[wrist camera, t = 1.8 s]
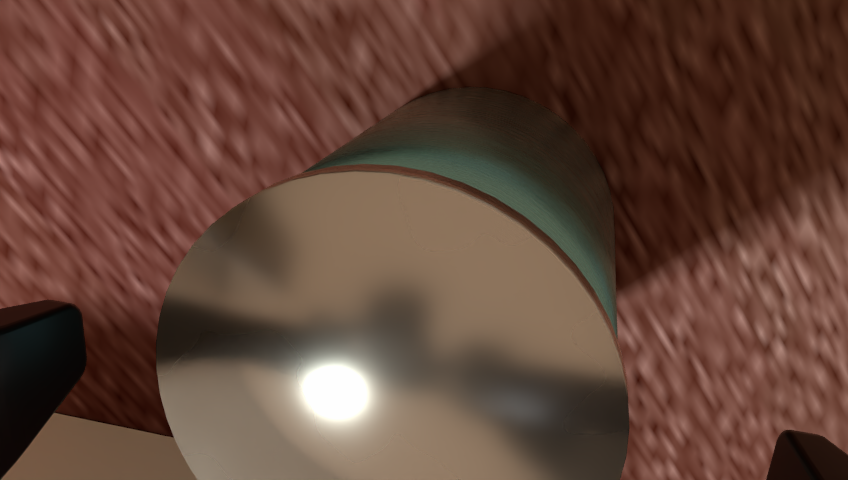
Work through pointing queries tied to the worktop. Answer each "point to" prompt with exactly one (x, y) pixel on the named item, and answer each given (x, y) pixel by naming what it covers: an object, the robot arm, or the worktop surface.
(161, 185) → the worktop surface
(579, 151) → the tea tin
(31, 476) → the box
